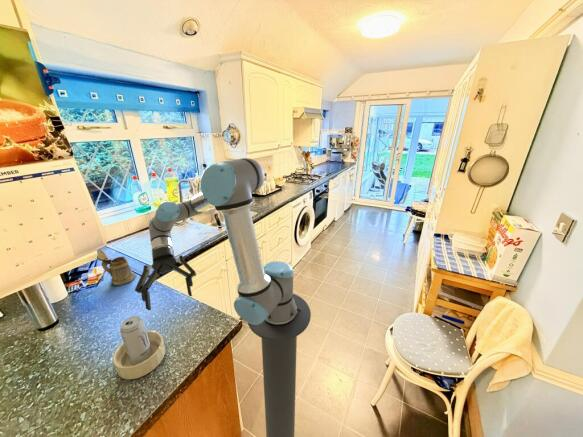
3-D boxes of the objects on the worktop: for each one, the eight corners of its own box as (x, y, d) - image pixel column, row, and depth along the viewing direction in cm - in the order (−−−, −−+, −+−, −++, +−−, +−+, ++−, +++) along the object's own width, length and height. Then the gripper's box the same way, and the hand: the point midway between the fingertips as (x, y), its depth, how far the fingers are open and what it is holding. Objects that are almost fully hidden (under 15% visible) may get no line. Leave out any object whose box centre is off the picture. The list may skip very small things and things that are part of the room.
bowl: (171, 340, 82) (168, 328, 80) (157, 377, 70) (153, 364, 68) (130, 345, 80) (126, 333, 78) (108, 384, 68) (103, 371, 66)
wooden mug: (106, 276, 116) (95, 244, 109) (137, 273, 119) (128, 241, 113) (97, 288, 108) (85, 254, 101) (130, 283, 111) (121, 250, 105)
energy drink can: (149, 365, 73) (137, 329, 67) (127, 369, 72) (114, 332, 66) (155, 348, 78) (145, 313, 73) (135, 351, 77) (124, 316, 72)
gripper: (197, 246, 100) (207, 292, 90) (131, 264, 92) (134, 317, 82) (193, 237, 94) (204, 286, 84) (122, 256, 86) (124, 312, 76)
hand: (169, 301), depth 83 cm, fingers open, 13 cm apart
